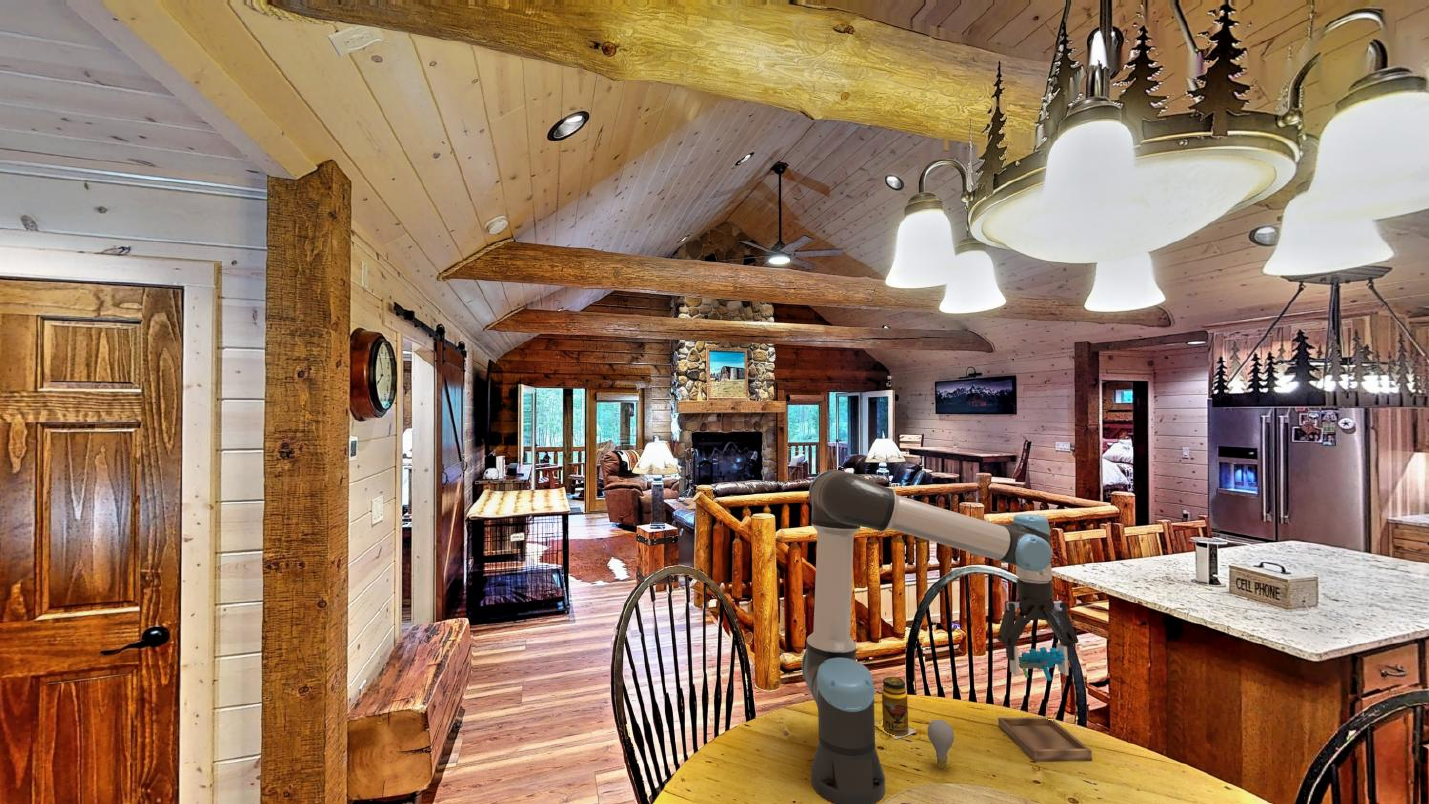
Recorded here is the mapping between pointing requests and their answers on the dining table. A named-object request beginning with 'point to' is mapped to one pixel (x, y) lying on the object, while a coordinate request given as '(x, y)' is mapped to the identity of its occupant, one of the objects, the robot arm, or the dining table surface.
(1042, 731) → the tray
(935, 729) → the light bulb
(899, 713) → the condiment
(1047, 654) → the blue and green toy
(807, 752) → the dining table surface
